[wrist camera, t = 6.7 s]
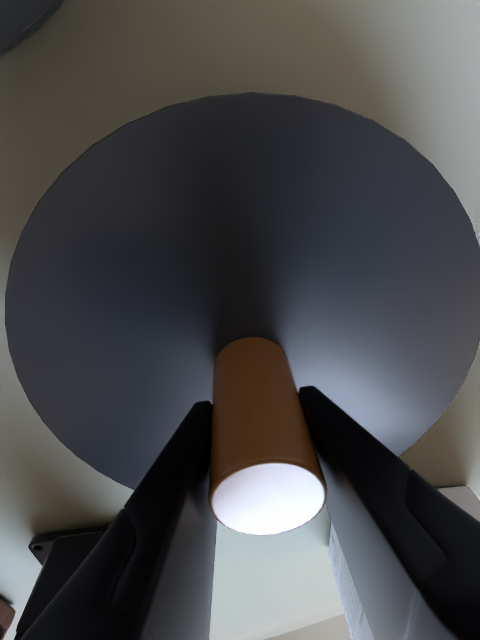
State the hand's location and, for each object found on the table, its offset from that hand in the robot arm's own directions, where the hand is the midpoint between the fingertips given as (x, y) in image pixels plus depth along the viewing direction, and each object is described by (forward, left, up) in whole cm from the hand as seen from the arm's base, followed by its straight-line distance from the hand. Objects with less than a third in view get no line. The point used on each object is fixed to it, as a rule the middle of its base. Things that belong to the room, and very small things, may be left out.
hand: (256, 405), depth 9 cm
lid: (0, 0, -2) cm, 2 cm away
